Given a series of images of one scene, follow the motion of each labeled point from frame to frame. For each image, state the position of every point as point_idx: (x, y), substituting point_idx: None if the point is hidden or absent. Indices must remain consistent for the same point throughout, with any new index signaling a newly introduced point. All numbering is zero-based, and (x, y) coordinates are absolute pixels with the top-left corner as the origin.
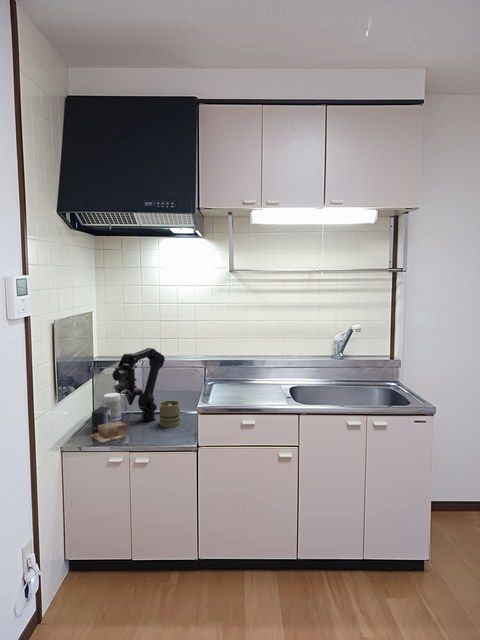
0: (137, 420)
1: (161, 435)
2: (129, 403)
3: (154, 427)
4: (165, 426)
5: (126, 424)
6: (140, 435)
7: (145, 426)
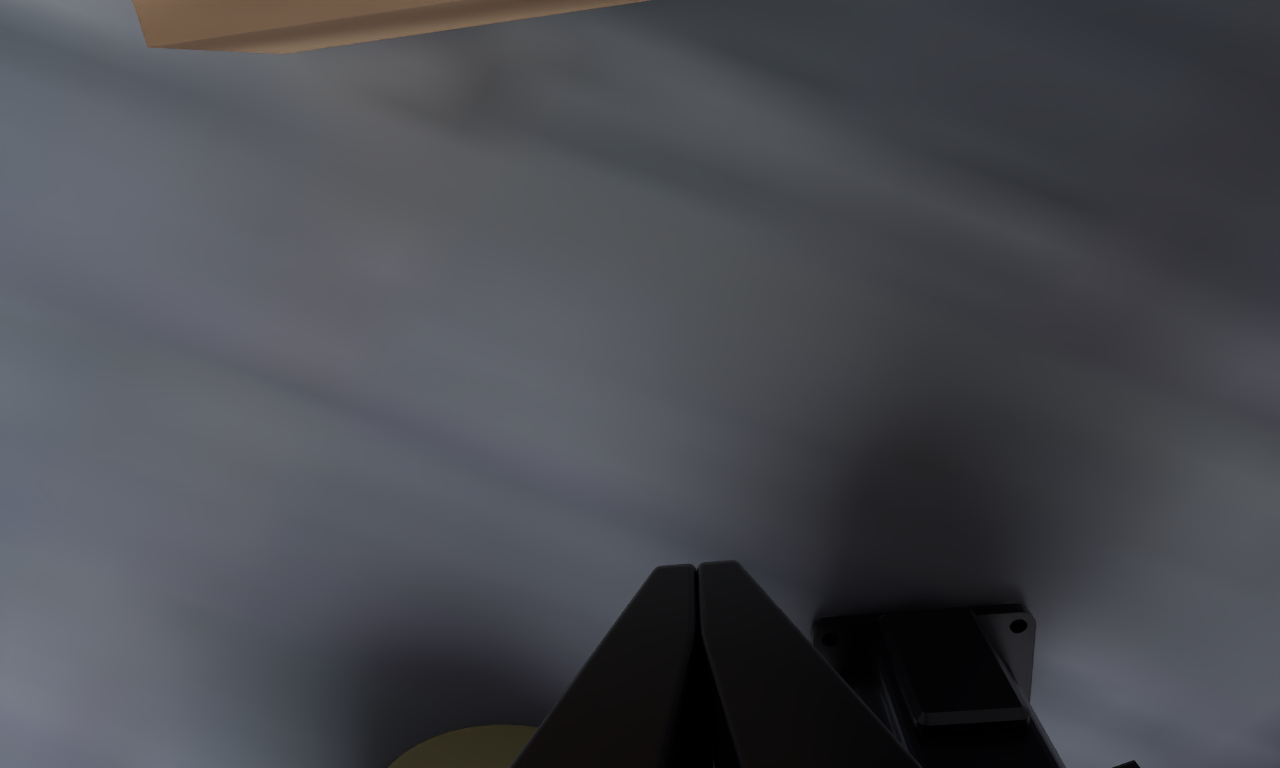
0: (1052, 545)
1: (38, 568)
2: (635, 614)
3: (484, 627)
4: (405, 760)
5: (164, 41)
6: (161, 282)
7: (620, 534)
